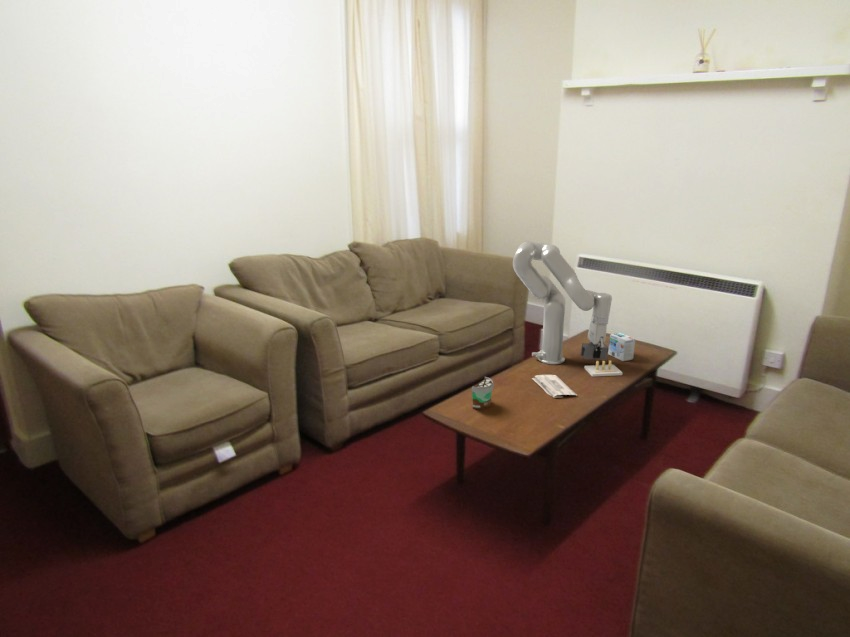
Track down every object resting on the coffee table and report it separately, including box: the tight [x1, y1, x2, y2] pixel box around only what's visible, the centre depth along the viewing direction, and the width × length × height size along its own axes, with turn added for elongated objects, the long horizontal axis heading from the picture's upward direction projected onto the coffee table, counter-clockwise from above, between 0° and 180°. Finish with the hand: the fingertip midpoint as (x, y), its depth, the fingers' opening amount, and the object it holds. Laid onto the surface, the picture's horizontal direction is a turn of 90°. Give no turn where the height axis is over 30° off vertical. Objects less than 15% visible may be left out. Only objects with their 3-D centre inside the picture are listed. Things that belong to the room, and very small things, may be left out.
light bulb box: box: [607, 332, 636, 362], centre depth 277 cm, size 11×7×11 cm, turn 25°
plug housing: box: [579, 342, 609, 360], centre depth 268 cm, size 11×5×6 cm, turn 96°
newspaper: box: [531, 374, 578, 399], centre depth 245 cm, size 23×12×2 cm, turn 10°
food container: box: [471, 376, 495, 410], centre depth 227 cm, size 12×6×10 cm, turn 148°
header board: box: [583, 359, 623, 378], centre depth 260 cm, size 14×10×5 cm
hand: (594, 355), depth 269 cm, fingers closed on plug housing, 5 cm apart
